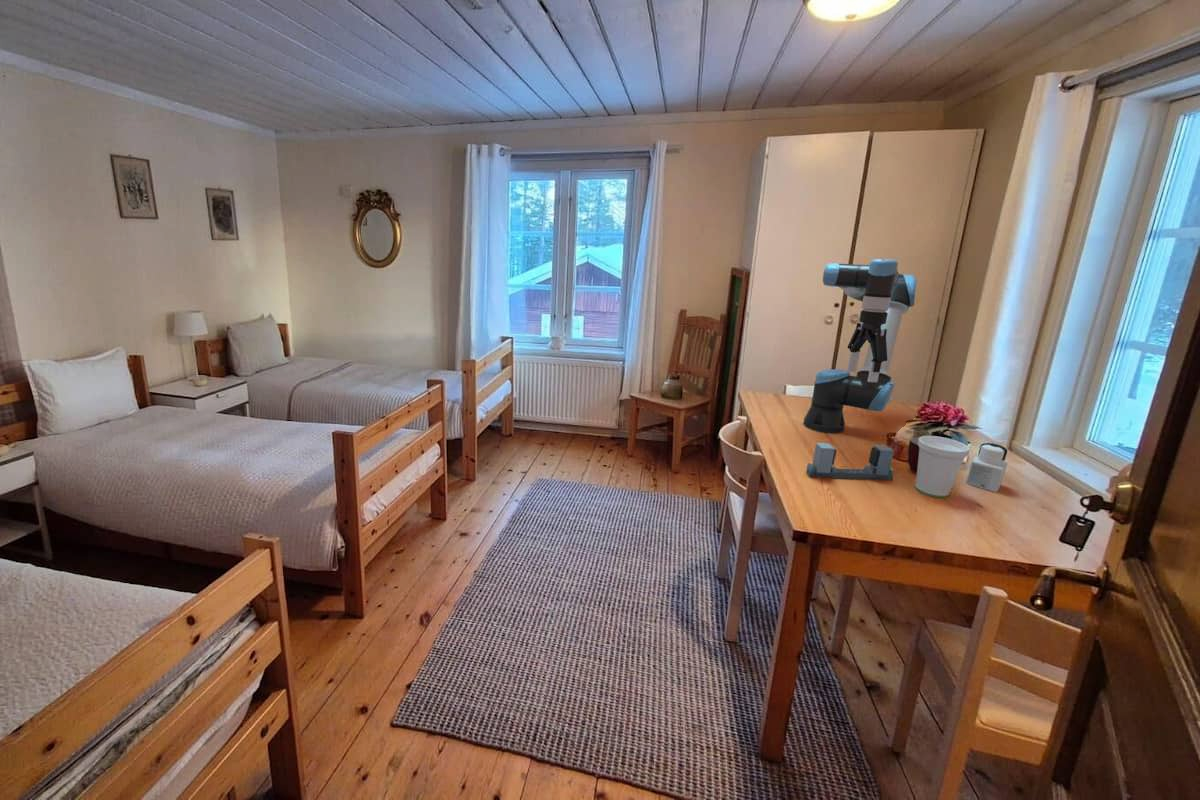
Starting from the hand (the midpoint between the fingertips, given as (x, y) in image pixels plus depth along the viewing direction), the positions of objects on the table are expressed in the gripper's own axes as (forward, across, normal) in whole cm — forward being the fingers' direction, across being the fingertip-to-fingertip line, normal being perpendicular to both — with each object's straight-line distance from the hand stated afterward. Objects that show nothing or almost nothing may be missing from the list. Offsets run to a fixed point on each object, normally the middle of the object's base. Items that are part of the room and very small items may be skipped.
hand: (861, 376), depth 163 cm
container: (+29, -17, -35) cm, 48 cm away
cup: (+29, -23, -15) cm, 40 cm away
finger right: (+27, -15, +15) cm, 34 cm away
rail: (+29, -15, +6) cm, 33 cm away
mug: (+29, -10, -19) cm, 36 cm away
